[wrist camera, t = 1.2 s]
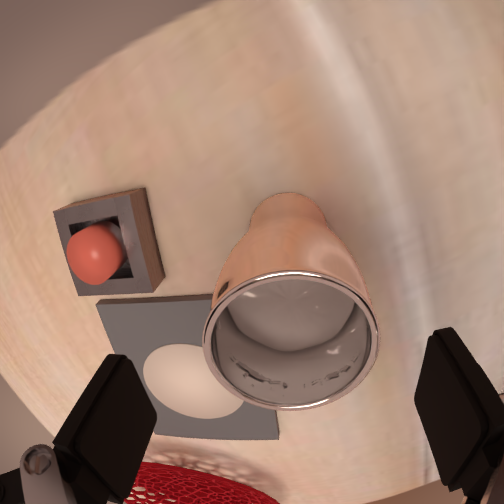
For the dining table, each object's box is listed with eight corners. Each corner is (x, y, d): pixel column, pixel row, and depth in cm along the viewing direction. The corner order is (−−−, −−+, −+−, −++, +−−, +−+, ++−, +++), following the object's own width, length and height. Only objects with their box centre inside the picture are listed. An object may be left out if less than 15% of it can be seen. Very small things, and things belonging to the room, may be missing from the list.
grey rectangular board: (279, 433, 34) (278, 440, 33) (157, 428, 36) (155, 435, 35) (258, 290, 27) (257, 297, 26) (100, 299, 29) (94, 305, 28)
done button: (134, 267, 25) (118, 283, 23) (93, 271, 26) (76, 286, 23) (121, 217, 24) (102, 228, 21) (80, 224, 24) (60, 235, 22)
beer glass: (253, 277, 27) (223, 419, 13) (235, 195, 24) (170, 281, 10) (336, 263, 25) (383, 400, 12) (324, 179, 23) (384, 247, 9)
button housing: (165, 276, 27) (153, 292, 25) (94, 281, 28) (78, 296, 26) (145, 187, 25) (129, 194, 22) (72, 203, 26) (53, 211, 23)
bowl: (95, 464, 44) (86, 483, 40) (160, 411, 35) (147, 440, 30) (219, 523, 49) (216, 541, 44) (323, 488, 39) (324, 513, 34)
